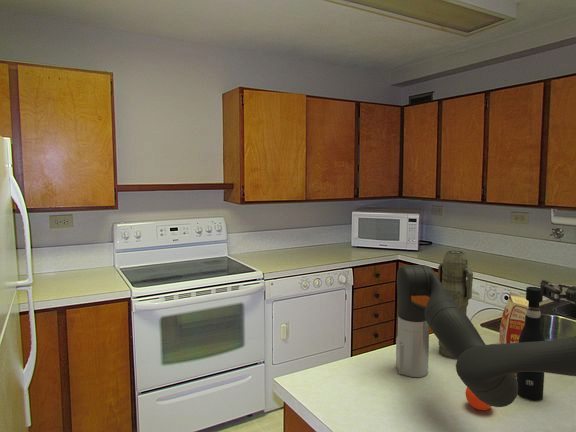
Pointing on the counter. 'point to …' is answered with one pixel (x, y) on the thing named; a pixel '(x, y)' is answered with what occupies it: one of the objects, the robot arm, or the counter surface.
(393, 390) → the counter surface
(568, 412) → the counter surface
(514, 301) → the milk carton
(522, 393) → the wine bottle
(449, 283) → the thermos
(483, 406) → the clementine
